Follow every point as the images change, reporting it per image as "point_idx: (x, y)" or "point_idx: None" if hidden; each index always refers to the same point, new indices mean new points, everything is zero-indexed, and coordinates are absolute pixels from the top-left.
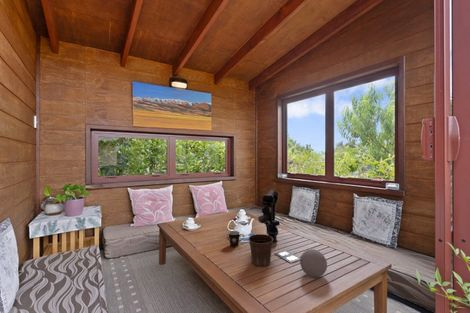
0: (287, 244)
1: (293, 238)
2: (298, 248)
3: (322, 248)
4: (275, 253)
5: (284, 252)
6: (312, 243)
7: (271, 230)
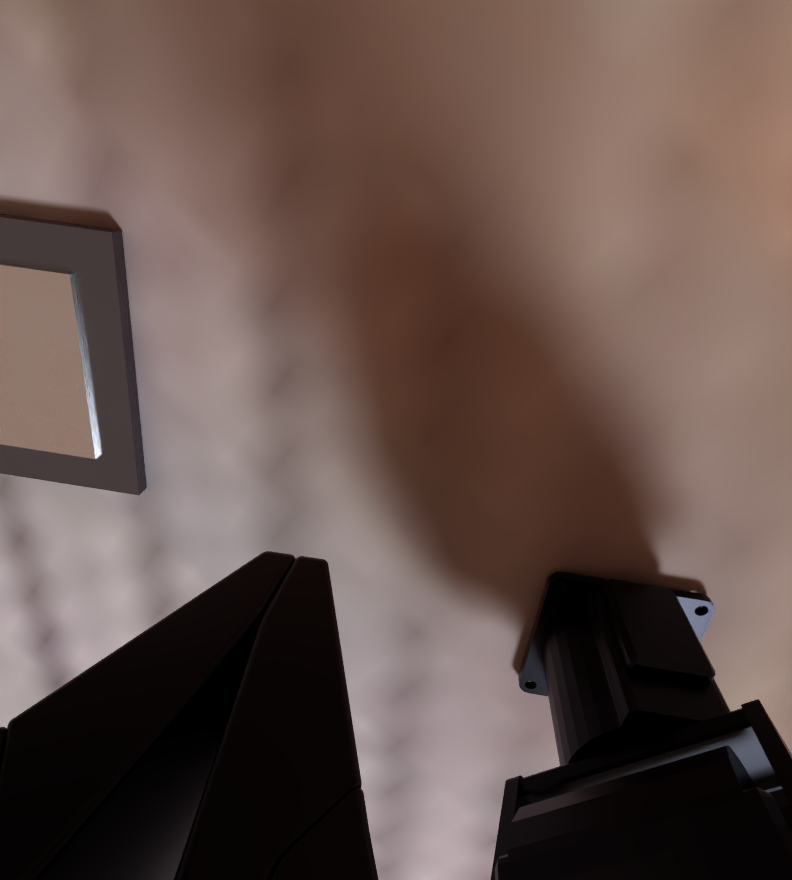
0: None
1: (436, 864)
2: None
3: None
4: (107, 244)
5: (58, 410)
6: None
7: (613, 840)
